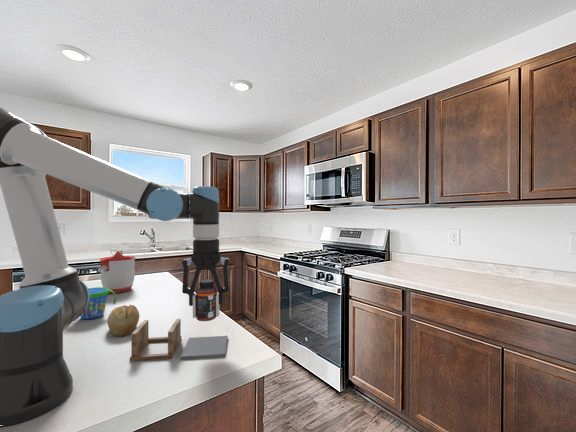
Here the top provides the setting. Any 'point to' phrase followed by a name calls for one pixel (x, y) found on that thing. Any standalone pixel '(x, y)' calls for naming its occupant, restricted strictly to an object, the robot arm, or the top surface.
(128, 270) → the citrus juicer
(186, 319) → the top surface
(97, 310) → the snack cup
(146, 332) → the rack
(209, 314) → the supplement bottle
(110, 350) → the top surface
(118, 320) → the bread roll
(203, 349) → the coaster
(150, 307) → the top surface
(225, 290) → the robot arm
